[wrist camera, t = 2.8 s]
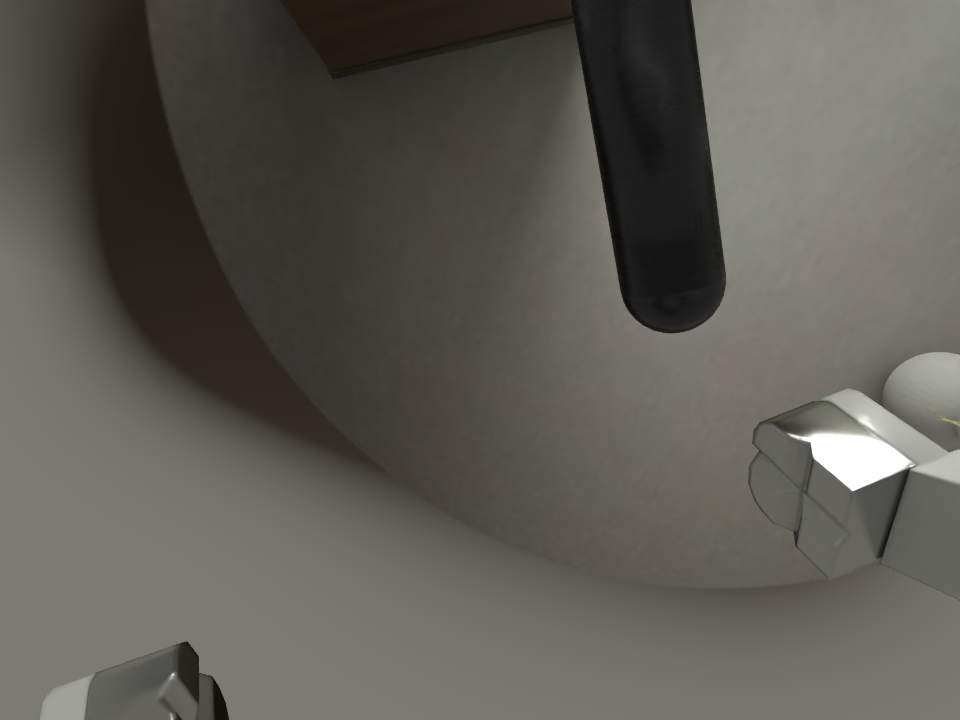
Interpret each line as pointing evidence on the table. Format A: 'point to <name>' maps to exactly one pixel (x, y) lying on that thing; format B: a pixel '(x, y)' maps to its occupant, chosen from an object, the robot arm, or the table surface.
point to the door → (653, 157)
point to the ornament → (927, 396)
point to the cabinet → (414, 27)
